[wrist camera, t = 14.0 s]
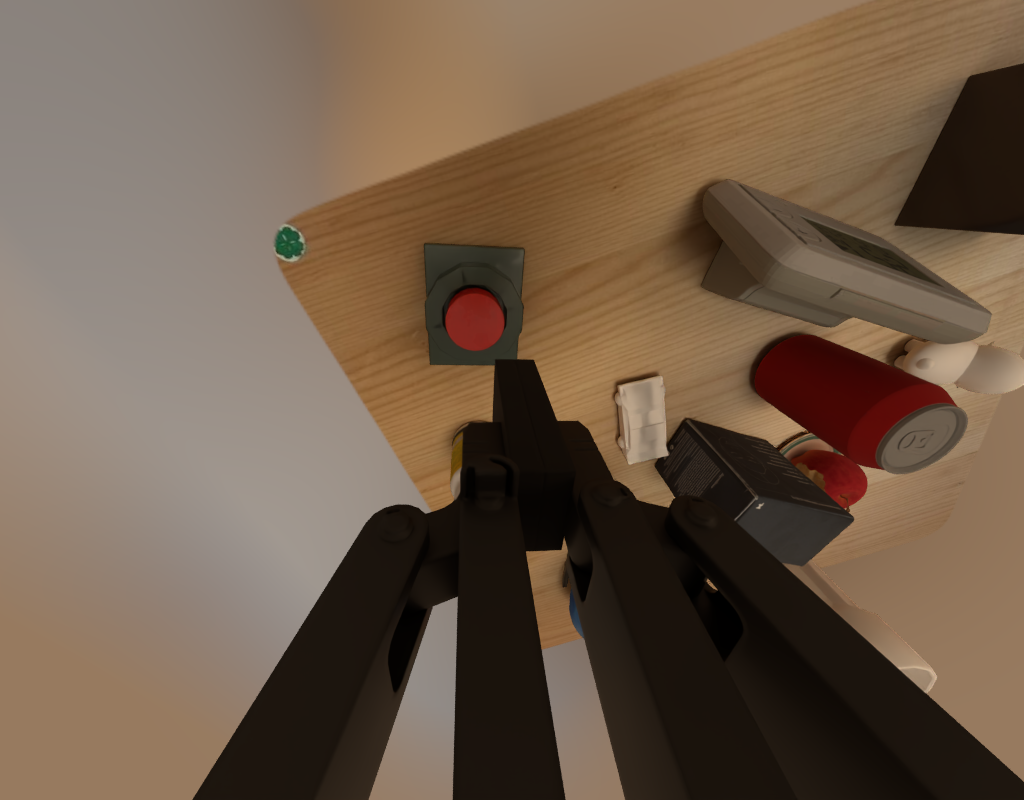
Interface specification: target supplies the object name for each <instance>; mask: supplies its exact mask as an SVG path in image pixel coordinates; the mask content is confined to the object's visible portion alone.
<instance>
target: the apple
mask: <svg viewBox="0 0 1024 800" xmlns="http://www.w3.org/2000/svg"><path fill="white" fill-rule="evenodd" d="M779 452H780V453H781V454H782V455H783V456H784V457H786V458H787V459H788V460H789V461H790V462H791V463H792V464H793V465H794V466H795V467H797V468H798V469H799V470H800V471H801V472H802V473H803V474H804V475H806V476H807V477H808V478H809V479H811V480H812V481H813V482H814V483H815V484H816V485H817V486H818V487H819V488H821V489H822V490H823V491H824V492H826V493H827V494H828V495H829V496H830V497H831V498H832V499H833V500H835V501H836V502H837V503H838V504H839V505H840V506H841V507H842V508H847V509H846V511H847V512H850V509H849V506H851V505H853V504H854V503H856V502H857V501H859V500H860V499H861V498H862V497H863V496H864V494H865V493H866V490H867V478H866V475H865V473H864V472H863V470H862V469H861V468H860V467H859V466H858V465H857V464H856V463H855V462H853V461H852V460H850V459H849V458H847V457H846V456H843V455H841V453H840V452H838V451H837V450H836V449H834V448H833V447H831V446H830V445H828V444H827V443H825V442H824V441H822V440H821V439H819V438H818V437H817V436H815V435H814V434H812V433H808V434H805V435H802V436H800V437H798V438H796V439H794V440H792V441H791V442H789V443H788V444H787V445H785V446H784V447H783V448H782V449H781V450H780V451H779Z"/></svg>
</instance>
